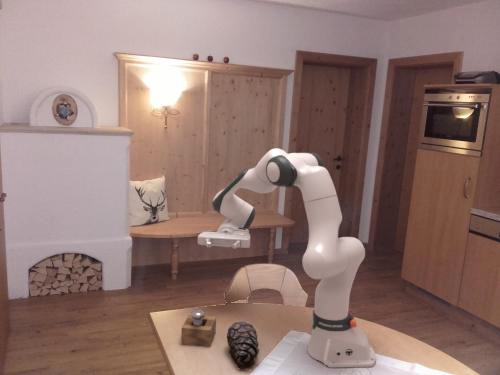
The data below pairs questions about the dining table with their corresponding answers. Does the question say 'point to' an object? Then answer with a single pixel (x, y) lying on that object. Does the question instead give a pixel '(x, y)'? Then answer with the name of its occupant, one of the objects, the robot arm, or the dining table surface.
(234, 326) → the pine cone
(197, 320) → the pin
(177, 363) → the dining table surface
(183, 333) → the socket block
